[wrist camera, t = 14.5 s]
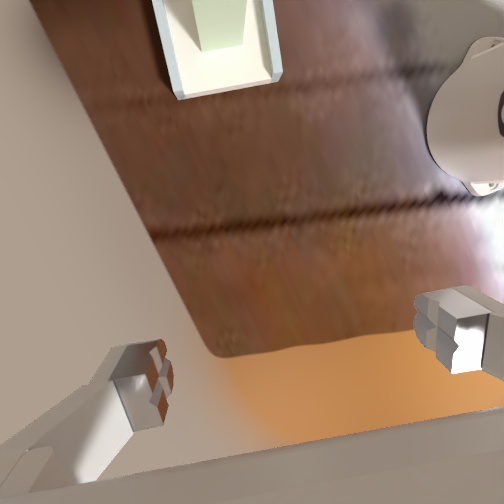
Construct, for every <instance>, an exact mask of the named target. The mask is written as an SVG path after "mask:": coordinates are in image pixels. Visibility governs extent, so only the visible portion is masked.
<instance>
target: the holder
mask: <svg viewBox="0 0 504 504" xmlns="http://www.w3.org/2000/svg"><path fill="white" fill-rule="evenodd" d="M152 3H153V7H154V11H155V16H156V20H157V24H158V28H159V33H160V37H161V41H162V46H163V50H164V54H165V58H166V63H167V67H168V71H169V75H170V80H171V84H172V88H173V92H174V94H175V96H176V97H177V99H178V100H182V99H187V98H193V97H198V96H203V95H209V94H214V93H219V92H225V91H230V90H236V89H241V88H246V87H252V86H257V85H262V84H268V83H273V82H278V81H279V79H280V77H281V75H282V73H283V70H282V63H281V56H280V49H279V42H278V35H277V29H276V22H275V15H274V8H273V1H272V0H247V5H246V15H245V24H244V34H243V43H242V45H241V46H236V47H230V48H224V49H219V50H213V51H208V52H202V50H201V46H200V41H199V36H198V31H197V26H196V21H195V16H194V11H193V7H192V2H191V0H152Z"/></svg>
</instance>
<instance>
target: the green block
mask: <svg viewBox="0 0 504 504" xmlns="http://www.w3.org/2000/svg"><path fill="white" fill-rule="evenodd" d="M191 2H192V7H193V11H194V16H195V21H196V26H197V31H198V36H199V41H200V46H201V50H202V52H208V51H213V50H219V49H224V48H230V47H236V46H241V45H242V43H243V34H244V24H245V15H246V5H247V0H191Z"/></svg>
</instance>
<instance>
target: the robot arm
mask: <svg viewBox="0 0 504 504" xmlns="http://www.w3.org/2000/svg"><path fill="white" fill-rule="evenodd" d="M427 140H428V145H429V149H430V151H431V154H432V156H433V158H434V160H435V161H436V163H437V164H438V165H439V167H440V168H441V169H442V170H444V171H445V172H446V173H447V174H449V175H451V176H453V177H455V178H457V179H459V180H460V181H462V182H463V183H464V185H465V186H466V188H467V189H468V190H469V192H470V193H471V194H473V195H474V196H485V195H488V194H490V193H492V192H495V191H497V190H500V189H502V188H504V37H491V36H487V37H483V38H481V39H479V40H477V41H475V42H474V43H473V44H472V46H471V47H470V49H469V50H468V52H467V54H466V56H465V58H464V60H463V62H462V64H461V65H460V67H459V68H458V69H457V70H456V71H455V72H454V73H453V74H452V75H451V76H450V77H449V78H448V79H447V80H446V81H445V82H444V83H443V85H442V86H441V87H440V89H439V91H438V92H437V94H436V96H435V98H434V100H433V102H432V105H431V108H430V111H429V115H428V121H427ZM489 183H490V185H489ZM414 307H415V308H416V309H417V310H418V314H417V315H416V316H415V318H414V330H415V333H416V336H417V338H418V339H419V341H420V342H421V344H423V346H424V347H426V348H428V349H430V350H432V351H435V352H436V358H437V359H438V360H439V361H440V362H441V363H442V364H443V365H444V366H445V367H446V368H447V369H448V370H449V371H450V372H451V373H458V372H465V371H471V370H478V369H482V371H484V372H486V373H488V374H490V375H492V376H494V377H497V378H499V379H501V380H503V381H504V304H502V303H500V302H498V301H496V300H494V299H493V298H491V297H489V296H487V295H485V294H483V293H481V292H480V291H478V290H476V289H474V288H472V287H470V286H466V285H462V286H457V287H452V288H448V289H444V290H438V291H433V292H428V293H423V294H418V295H416V298H415V302H414ZM166 352H167V349H166V346H165V343H164V341H163V340H162V339H158V340H152V341H145V342H139V343H132V344H126V345H120V346H115V347H113V348H111V349H110V351H109V352H108V354H107V355H106V357H105V358H104V360H103V362H102V363H101V365H100V367H99V368H98V370H97V371H96V373H95V374H94V376H93V377H92V379H91V381H90V382H89V384H88V385H83V386H81V387H80V388H79V389H77V390H76V391H74V392H73V393H72V394H70V395H69V396H68V397H67V398H65V399H64V400H62V401H61V402H59V403H58V404H57V405H55V406H54V407H52V408H51V409H50V410H48V411H47V412H45V413H44V414H43V415H42V416H40V417H39V418H37V419H36V420H34V421H33V422H32V423H30V424H29V425H28V426H26V427H25V428H24V429H22V430H21V431H19V432H18V433H17V434H15V435H14V436H12V437H11V438H10V439H8V440H7V441H6V442H4V443H3V444H1V445H0V504H504V406H503V407H497V408H491V409H485V410H480V411H474V412H469V413H463V414H458V415H452V416H447V417H441V418H436V419H431V420H424V421H419V422H413V423H408V424H403V425H397V426H391V427H386V428H381V429H375V430H370V431H364V432H359V433H353V434H348V435H343V436H337V437H332V438H327V439H321V440H315V441H310V442H305V443H299V444H294V445H288V446H283V447H277V448H273V449H267V450H261V451H256V452H250V453H245V454H240V455H234V456H228V457H223V458H218V459H212V460H207V461H201V462H196V463H190V464H185V465H180V466H174V467H168V468H163V469H158V470H152V471H147V472H141V473H136V474H131V475H125V476H120V477H114V478H109V479H103V480H98V481H96V479H97V478H98V477H99V476H100V474H101V473H102V472H103V471H104V469H105V468H106V467H107V466H108V464H109V463H110V462H111V461H112V459H113V458H114V457H115V456H116V454H117V453H118V452H119V451H120V450H121V448H122V447H123V446H124V445H125V443H126V442H127V441H128V440H129V438H130V437H131V436H132V435H133V432H134V431H139V430H144V429H149V428H153V427H158V426H163V425H164V421H165V417H166V414H167V410H168V406H169V405H168V402H167V398H168V396H169V395H170V394H171V393H172V389H173V378H174V375H173V369H172V365H171V362H170V361H169V360H167V359H166V358H165V355H166Z"/></svg>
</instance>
